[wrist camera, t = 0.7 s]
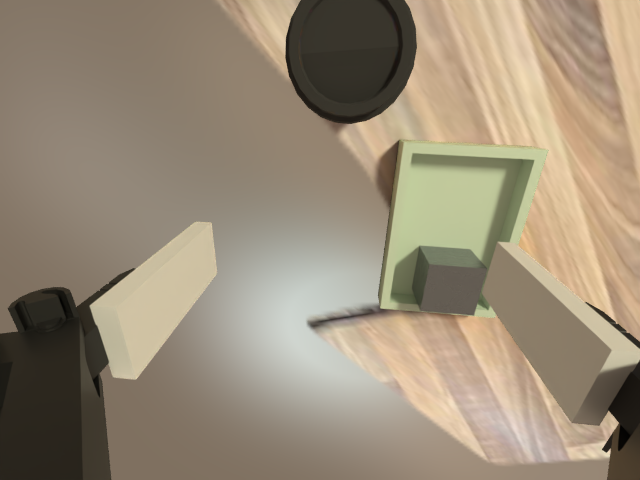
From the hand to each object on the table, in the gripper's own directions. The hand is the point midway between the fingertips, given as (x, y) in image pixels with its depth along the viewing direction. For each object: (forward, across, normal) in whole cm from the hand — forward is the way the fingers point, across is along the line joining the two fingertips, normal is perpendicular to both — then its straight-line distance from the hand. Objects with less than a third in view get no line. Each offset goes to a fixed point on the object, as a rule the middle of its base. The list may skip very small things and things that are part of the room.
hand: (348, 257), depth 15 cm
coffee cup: (+23, -1, +9) cm, 25 cm away
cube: (+22, +12, -12) cm, 28 cm away
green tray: (+23, +12, -7) cm, 27 cm away
